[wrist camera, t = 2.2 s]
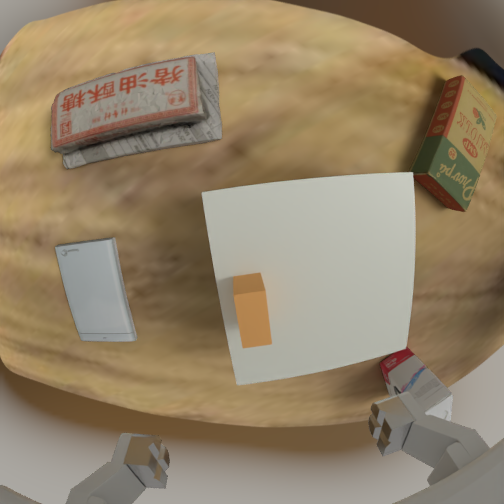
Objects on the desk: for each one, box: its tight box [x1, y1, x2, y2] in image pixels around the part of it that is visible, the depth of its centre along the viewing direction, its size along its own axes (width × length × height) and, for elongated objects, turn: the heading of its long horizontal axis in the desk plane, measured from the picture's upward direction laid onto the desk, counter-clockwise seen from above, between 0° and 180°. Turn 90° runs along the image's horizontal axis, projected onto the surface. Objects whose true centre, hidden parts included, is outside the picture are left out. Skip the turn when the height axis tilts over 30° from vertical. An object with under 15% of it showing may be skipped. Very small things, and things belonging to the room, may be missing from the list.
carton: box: [409, 75, 496, 212], centre depth 26 cm, size 8×16×4 cm, turn 152°
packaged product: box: [51, 52, 222, 169], centre depth 23 cm, size 18×5×10 cm
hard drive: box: [55, 237, 137, 342], centre depth 30 cm, size 2×8×12 cm
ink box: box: [380, 346, 453, 422], centre depth 30 cm, size 9×5×12 cm, turn 27°
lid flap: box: [202, 172, 415, 385], centre depth 20 cm, size 17×17×4 cm
